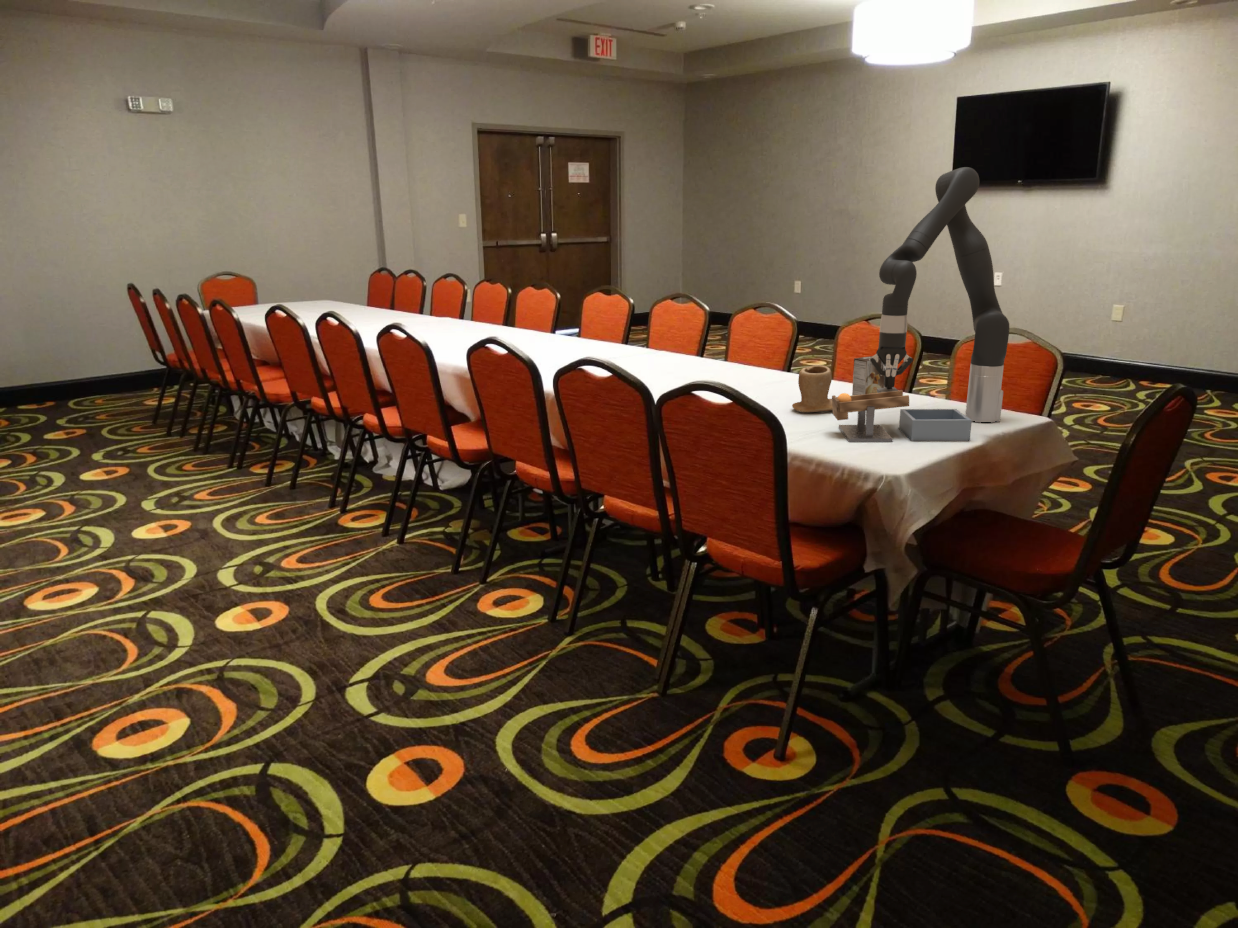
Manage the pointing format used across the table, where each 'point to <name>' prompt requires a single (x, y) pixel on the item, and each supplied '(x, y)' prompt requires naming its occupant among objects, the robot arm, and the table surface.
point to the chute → (869, 402)
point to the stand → (865, 429)
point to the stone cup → (814, 389)
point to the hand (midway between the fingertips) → (888, 388)
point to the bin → (935, 425)
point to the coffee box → (866, 376)
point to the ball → (844, 397)
